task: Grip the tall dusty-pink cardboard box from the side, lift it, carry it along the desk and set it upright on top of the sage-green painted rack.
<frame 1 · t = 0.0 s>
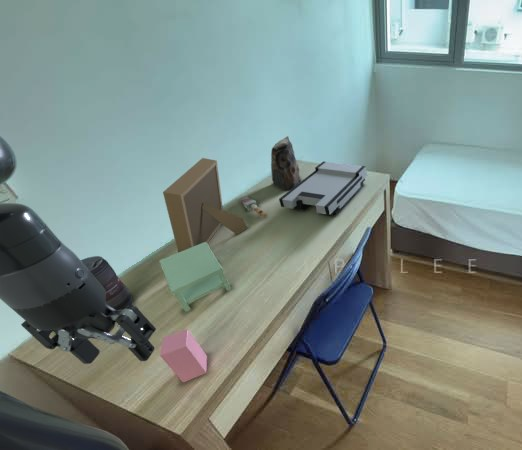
hand: (121, 357, 48), 20 cm above the table, tool pointing down, fingers open, 8 cm apart
owl: (287, 183, 139), on the table
game console: (328, 198, 127), on the table
rack: (202, 284, 88), on the table
paintbrush: (251, 202, 120), point 3 cm above the table
pink box: (195, 368, 67), on the table
photo frame: (220, 239, 106), on the table
camera lens: (118, 307, 83), on the table
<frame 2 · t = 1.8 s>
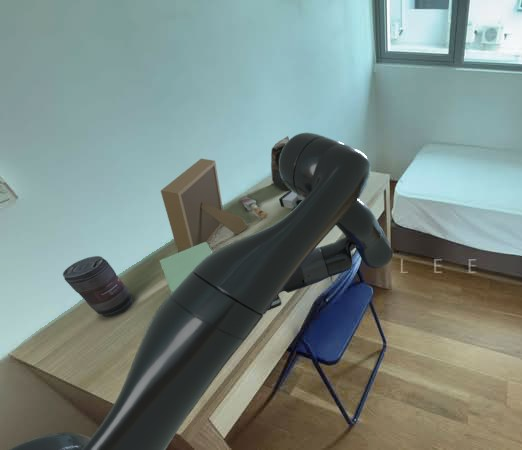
hand: (221, 296, 61), 17 cm above the table, tool horizontal, fingers open, 8 cm apart
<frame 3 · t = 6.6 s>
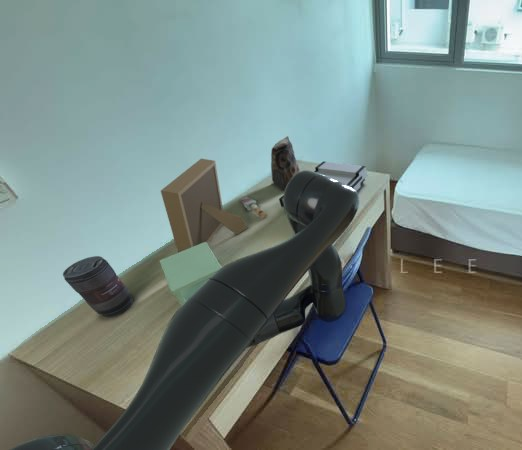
hand: (168, 358, 63), 6 cm above the table, tool horizontal, fingers closed on pink box, 4 cm apart
pink box: (195, 369, 67), on the table, touching gripper
everything else where it was.
when the fingers open (14 cm above the table, at t = 13.5 s): pink box stays where it is, resting on rack.
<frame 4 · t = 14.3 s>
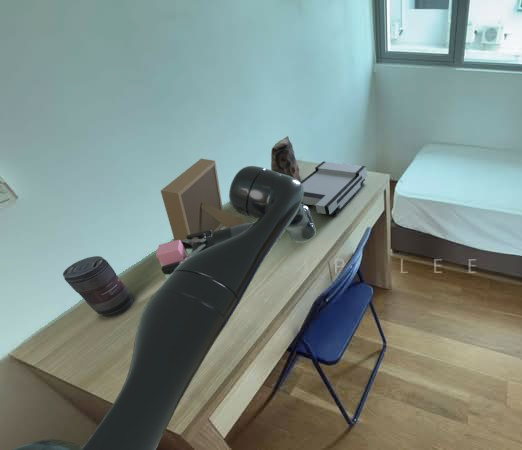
hand: (165, 260, 75), 15 cm above the table, tool horizontal, fingers open, 8 cm apart
pink box: (186, 277, 80), point 8 cm above the table, touching rack
everything else where it was.
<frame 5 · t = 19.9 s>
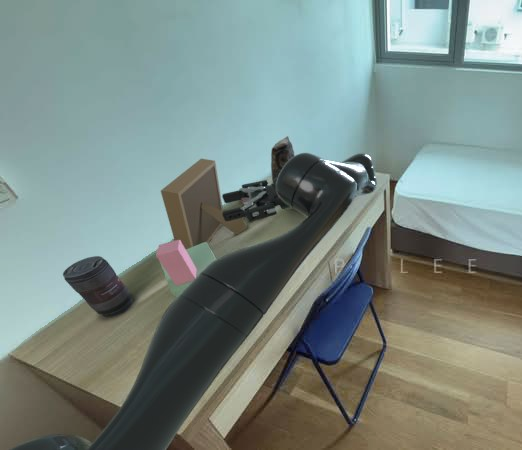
hand: (223, 207, 68), 28 cm above the table, tool horizontal, fingers open, 8 cm apart
nothing on the table moved.
at the end: pink box inside the target area on the rack (5.3 cm from its centre), point 8.0 cm above the rack's base; pink box tilted 0°; the gripper is holding nothing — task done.
